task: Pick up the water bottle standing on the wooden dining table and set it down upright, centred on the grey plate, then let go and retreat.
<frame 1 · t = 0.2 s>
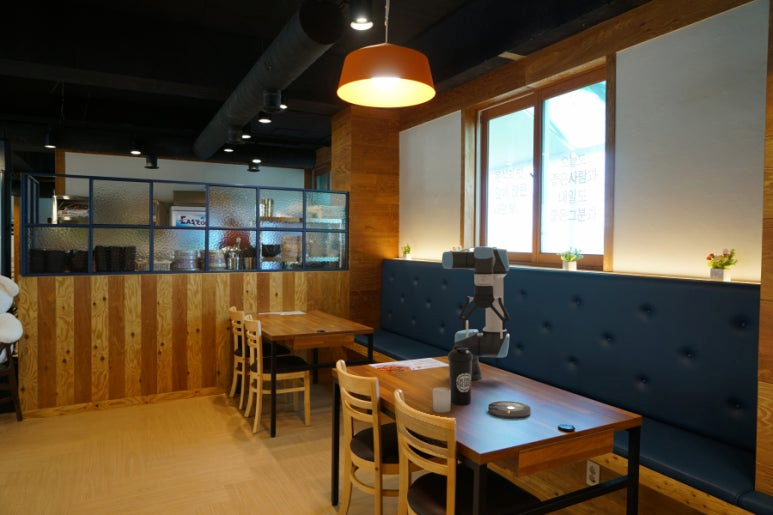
hand: (484, 337, 208), 28 cm above the table, fingers open, 13 cm apart
grey plate: (509, 412, 201), on the table
white rounded capsule: (441, 409, 205), on the table
water bottle: (460, 402, 215), on the table
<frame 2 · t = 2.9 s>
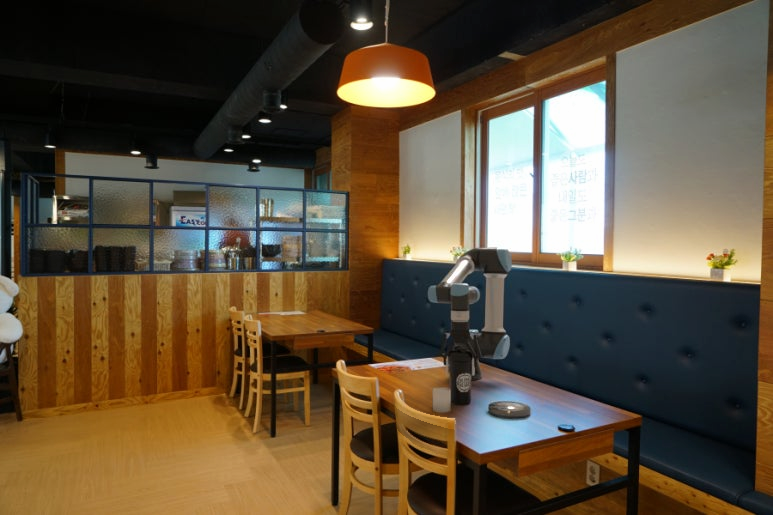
hand: (460, 373, 215), 12 cm above the table, fingers closed on water bottle, 10 cm apart
water bottle: (460, 402, 215), on the table, touching gripper
everything else where it was.
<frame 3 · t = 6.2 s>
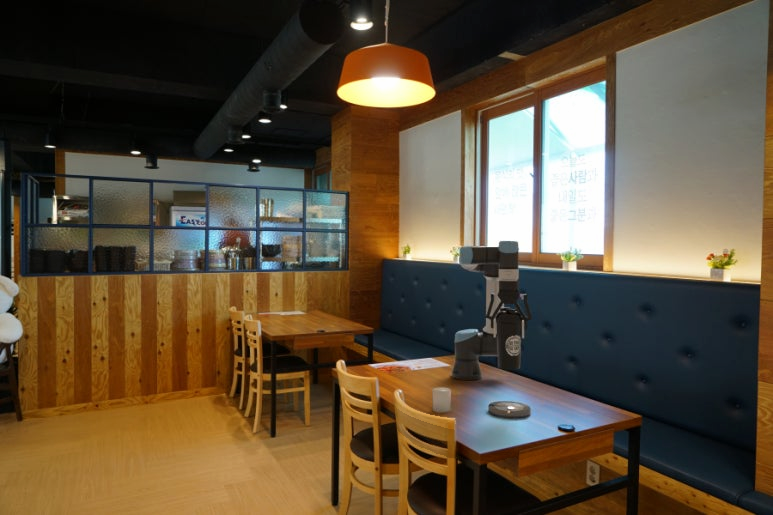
hand: (508, 337, 201), 29 cm above the table, fingers closed on water bottle, 10 cm apart
water bottle: (508, 367, 201), point 17 cm above the table, touching gripper
everything else where it was.
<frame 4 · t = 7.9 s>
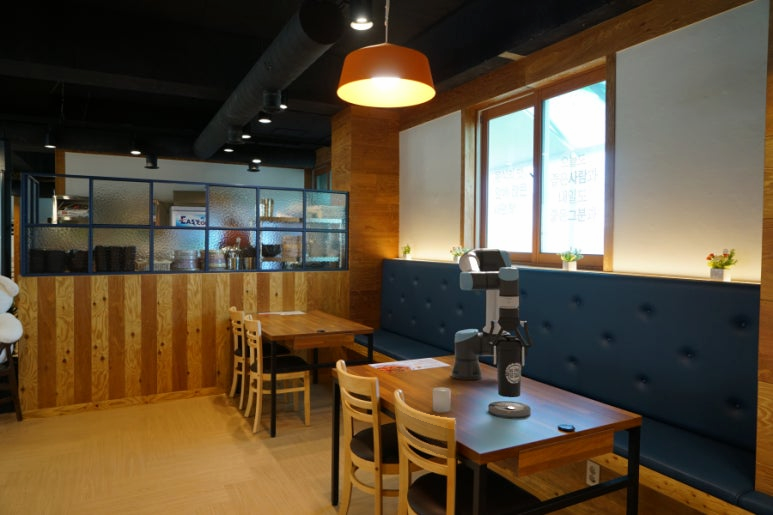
hand: (509, 364, 201), 19 cm above the table, fingers closed on water bottle, 10 cm apart
water bottle: (509, 394, 201), point 7 cm above the table, touching gripper
everything else where it was.
when the fingers open (15 cm above the table, at t = 9.3 s): water bottle moves 3 cm, resting on grey plate.
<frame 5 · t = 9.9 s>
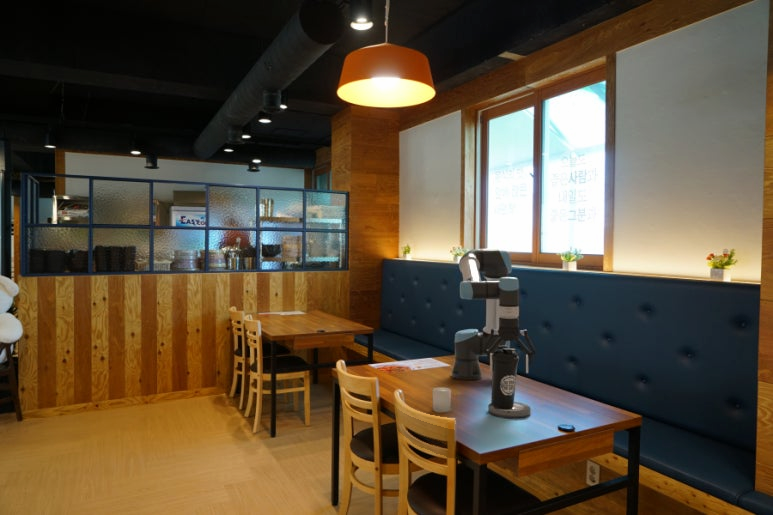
hand: (509, 371, 201), 16 cm above the table, fingers open, 13 cm apart
water bottle: (502, 406, 202), point 2 cm above the table, touching grey plate, gripper
everything else where it was.
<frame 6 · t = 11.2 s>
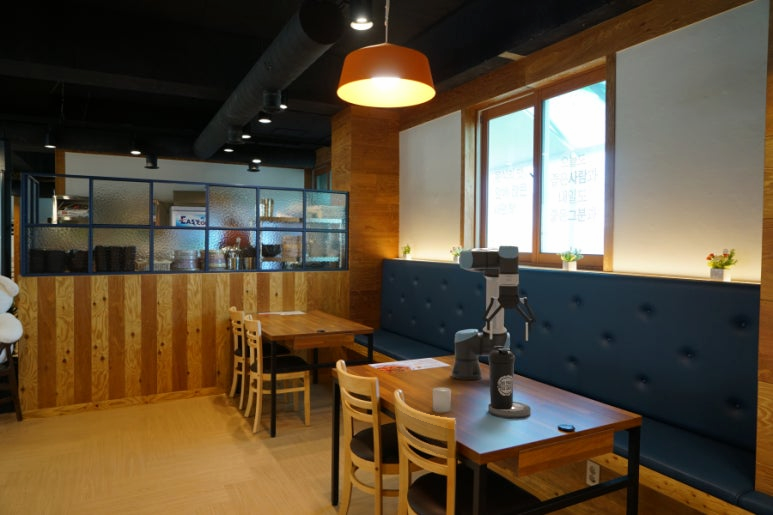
hand: (508, 339, 201), 28 cm above the table, fingers open, 13 cm apart
water bottle: (501, 406, 202), point 2 cm above the table, touching grey plate
everything else where it was.
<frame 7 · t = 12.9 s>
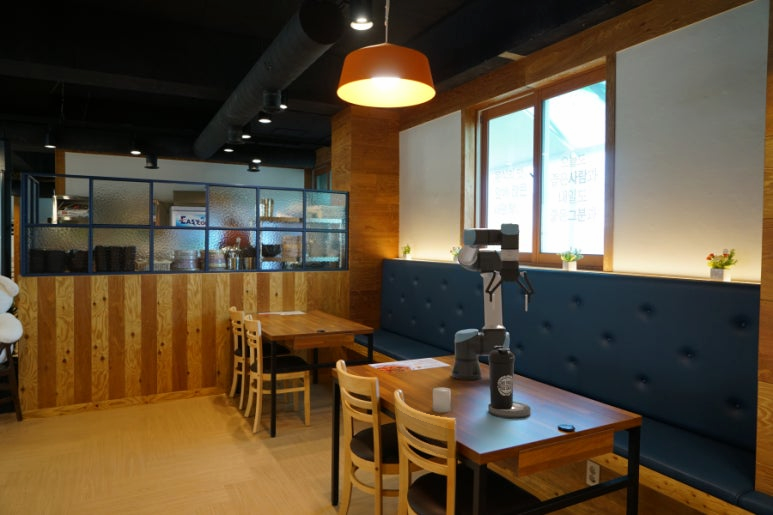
hand: (509, 310, 218), 38 cm above the table, fingers open, 13 cm apart
nothing on the table moved.
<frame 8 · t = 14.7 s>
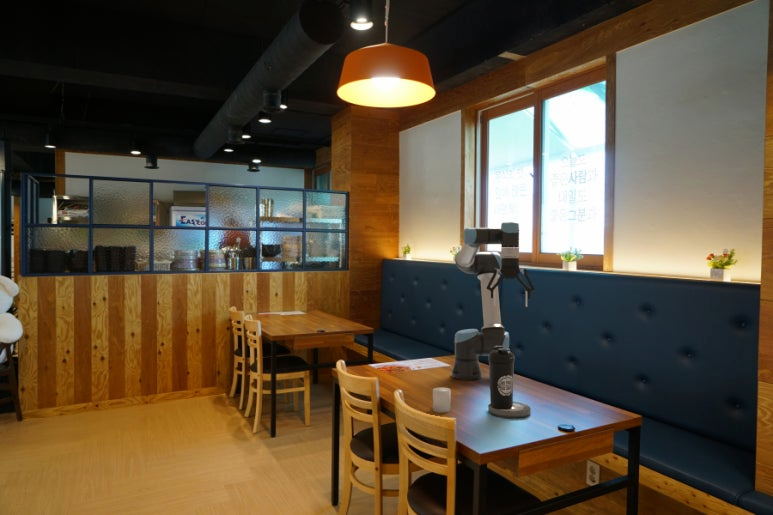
hand: (510, 306, 225), 39 cm above the table, fingers open, 13 cm apart
nothing on the table moved.
at the end: water bottle inside the target area on the grey plate (2.9 cm from its centre), point 1.9 cm above the grey plate's base; water bottle tilted 0°; the gripper is holding nothing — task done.
